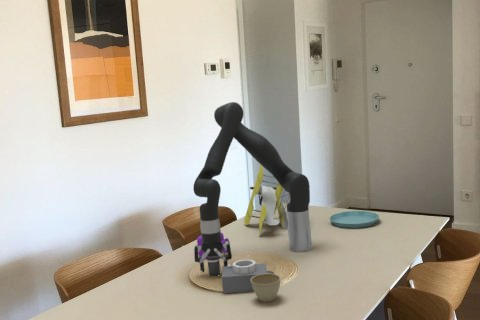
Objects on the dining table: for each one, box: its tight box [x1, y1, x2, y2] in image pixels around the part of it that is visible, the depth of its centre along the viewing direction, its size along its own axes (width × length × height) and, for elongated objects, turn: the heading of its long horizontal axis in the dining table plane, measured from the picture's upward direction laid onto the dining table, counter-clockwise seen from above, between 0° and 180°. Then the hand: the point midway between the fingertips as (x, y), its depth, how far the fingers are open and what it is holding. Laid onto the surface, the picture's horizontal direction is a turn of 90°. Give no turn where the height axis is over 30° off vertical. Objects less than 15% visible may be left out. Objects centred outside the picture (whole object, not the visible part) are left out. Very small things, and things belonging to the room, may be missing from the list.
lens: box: [206, 256, 222, 277], centre depth 198 cm, size 5×5×7 cm
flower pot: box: [251, 273, 281, 303], centre depth 171 cm, size 10×10×7 cm
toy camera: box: [196, 232, 231, 259], centre depth 222 cm, size 11×14×10 cm
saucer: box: [329, 210, 380, 229], centre depth 256 cm, size 24×24×3 cm
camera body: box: [221, 259, 268, 294], centre depth 184 cm, size 16×11×8 cm
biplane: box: [243, 164, 290, 237], centre depth 254 cm, size 39×30×20 cm
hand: (214, 270), depth 199 cm, fingers open, 8 cm apart
